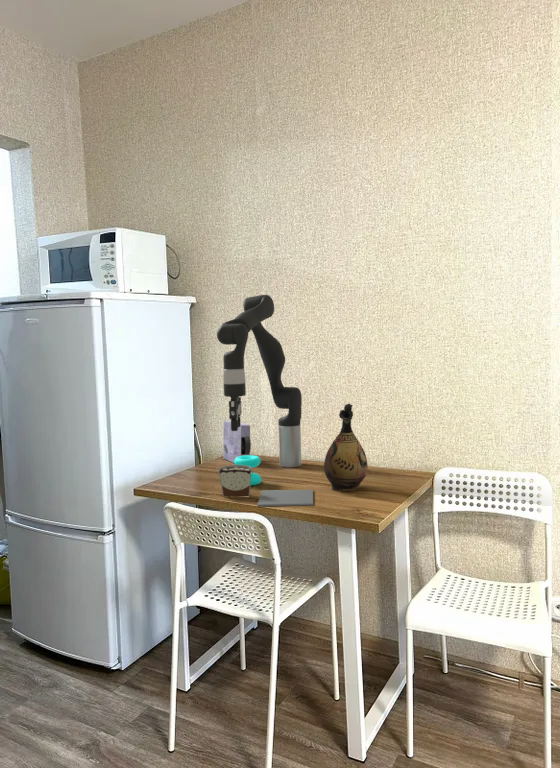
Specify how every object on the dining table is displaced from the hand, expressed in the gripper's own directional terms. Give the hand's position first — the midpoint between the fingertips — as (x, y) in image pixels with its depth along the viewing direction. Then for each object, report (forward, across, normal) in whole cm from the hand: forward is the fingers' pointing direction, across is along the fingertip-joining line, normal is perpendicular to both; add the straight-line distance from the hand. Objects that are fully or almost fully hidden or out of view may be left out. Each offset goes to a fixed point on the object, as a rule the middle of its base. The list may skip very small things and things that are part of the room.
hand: (236, 428), depth 210 cm
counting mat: (+23, -6, -17) cm, 29 cm away
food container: (+23, 0, 0) cm, 23 cm away
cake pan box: (+23, +55, +7) cm, 60 cm away
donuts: (+23, +16, -2) cm, 28 cm away
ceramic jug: (+23, +7, -38) cm, 45 cm away
